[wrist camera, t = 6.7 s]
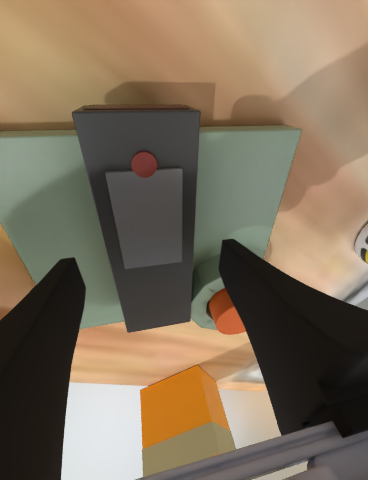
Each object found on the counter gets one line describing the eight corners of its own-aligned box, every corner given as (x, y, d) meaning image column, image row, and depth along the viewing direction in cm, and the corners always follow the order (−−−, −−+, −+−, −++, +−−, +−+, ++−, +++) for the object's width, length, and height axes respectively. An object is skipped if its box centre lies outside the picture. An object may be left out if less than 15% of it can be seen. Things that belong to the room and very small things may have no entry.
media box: (68, 319, 18) (57, 361, 16) (-28, 131, 10) (-89, 150, 7) (245, 290, 21) (263, 321, 18) (290, 124, 13) (335, 136, 10)
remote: (183, 295, 17) (191, 324, 15) (127, 304, 17) (127, 336, 14) (186, 103, 10) (202, 109, 8) (82, 104, 9) (68, 110, 7)
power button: (206, 318, 17) (213, 338, 16) (210, 286, 15) (219, 307, 13) (249, 310, 18) (259, 329, 16) (258, 279, 15) (271, 298, 14)
